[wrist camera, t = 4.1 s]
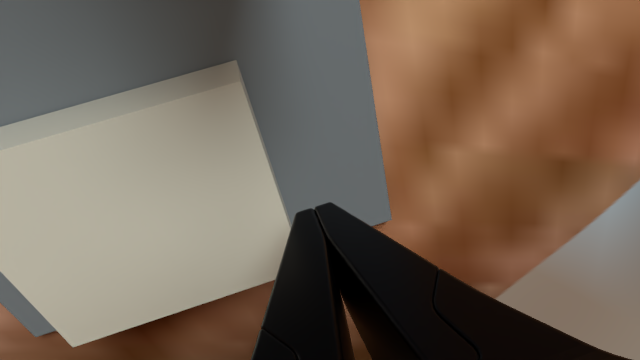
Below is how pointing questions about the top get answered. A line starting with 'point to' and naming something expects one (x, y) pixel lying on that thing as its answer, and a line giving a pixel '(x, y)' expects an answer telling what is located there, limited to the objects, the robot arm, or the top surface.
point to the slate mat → (200, 53)
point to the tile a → (139, 204)
